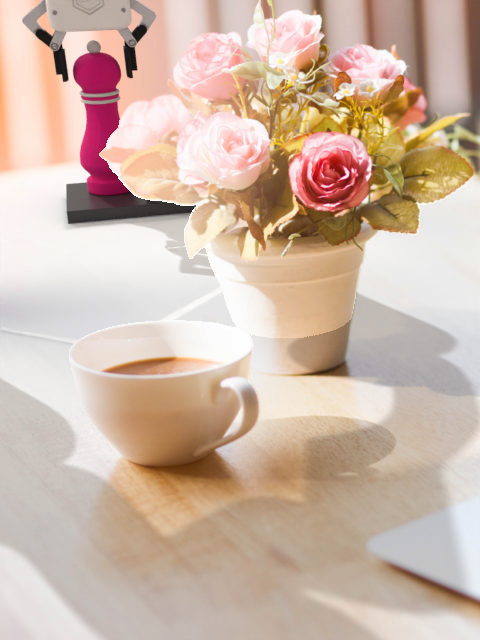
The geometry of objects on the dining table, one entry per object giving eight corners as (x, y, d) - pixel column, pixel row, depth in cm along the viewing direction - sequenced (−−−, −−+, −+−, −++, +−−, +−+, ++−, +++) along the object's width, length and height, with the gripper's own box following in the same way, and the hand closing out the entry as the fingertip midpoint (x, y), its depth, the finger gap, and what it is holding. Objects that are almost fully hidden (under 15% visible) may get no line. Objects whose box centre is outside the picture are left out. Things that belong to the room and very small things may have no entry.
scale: (68, 225, 151) (64, 198, 150) (67, 195, 164) (64, 171, 163) (196, 213, 156) (193, 187, 155) (186, 185, 169) (183, 161, 168)
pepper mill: (72, 193, 159) (51, 42, 151) (108, 180, 165) (89, 34, 157) (116, 199, 156) (96, 46, 149) (150, 185, 163) (133, 38, 155)
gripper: (4, -60, 142) (26, 87, 149) (153, -63, 148) (168, 79, 154) (6, -64, 149) (28, 77, 156) (149, -67, 154) (164, 70, 161)
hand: (97, 77), depth 155 cm, fingers open, 7 cm apart
